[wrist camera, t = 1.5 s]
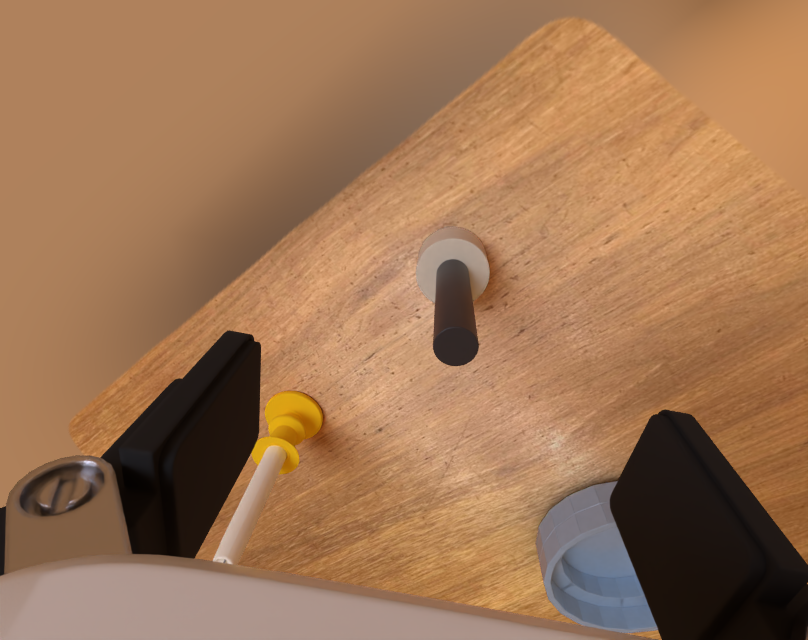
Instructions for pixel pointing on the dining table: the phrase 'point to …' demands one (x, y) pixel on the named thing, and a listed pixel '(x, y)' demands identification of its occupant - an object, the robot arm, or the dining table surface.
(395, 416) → the dining table surface
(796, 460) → the dining table surface
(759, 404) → the dining table surface
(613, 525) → the bowl
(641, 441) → the robot arm
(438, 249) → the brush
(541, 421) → the dining table surface
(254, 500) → the candle
